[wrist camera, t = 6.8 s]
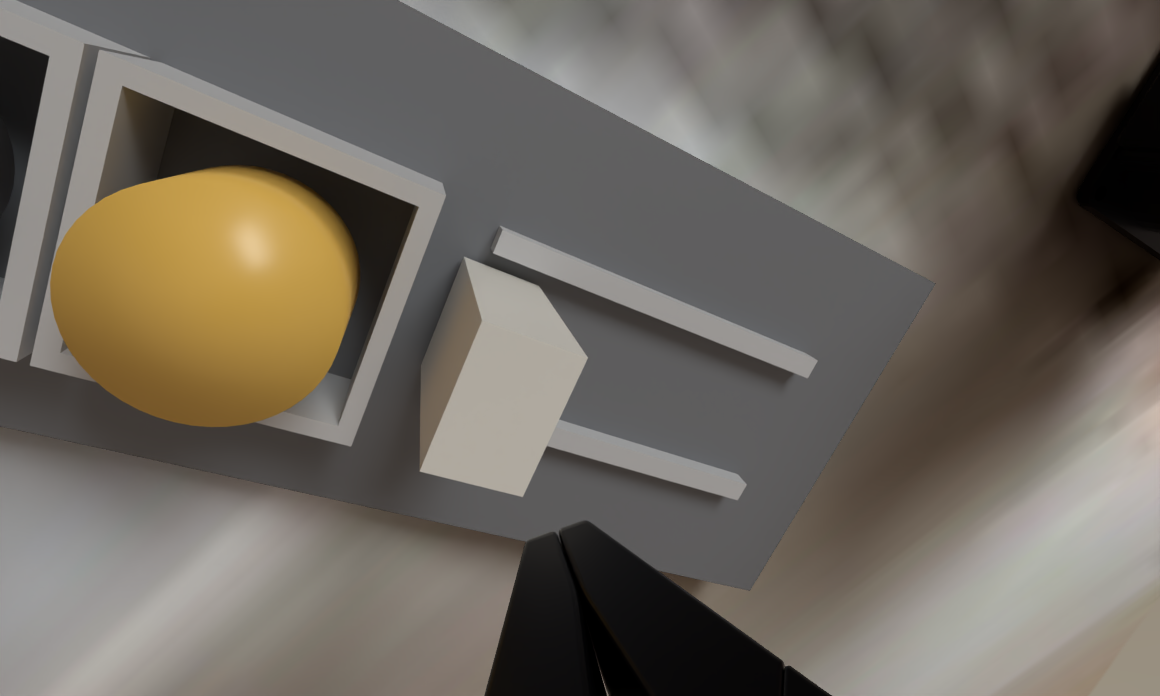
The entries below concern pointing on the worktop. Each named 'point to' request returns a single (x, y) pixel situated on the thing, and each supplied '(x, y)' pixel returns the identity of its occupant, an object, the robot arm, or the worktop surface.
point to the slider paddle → (494, 380)
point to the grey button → (5, 167)
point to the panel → (453, 268)
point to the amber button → (207, 294)
